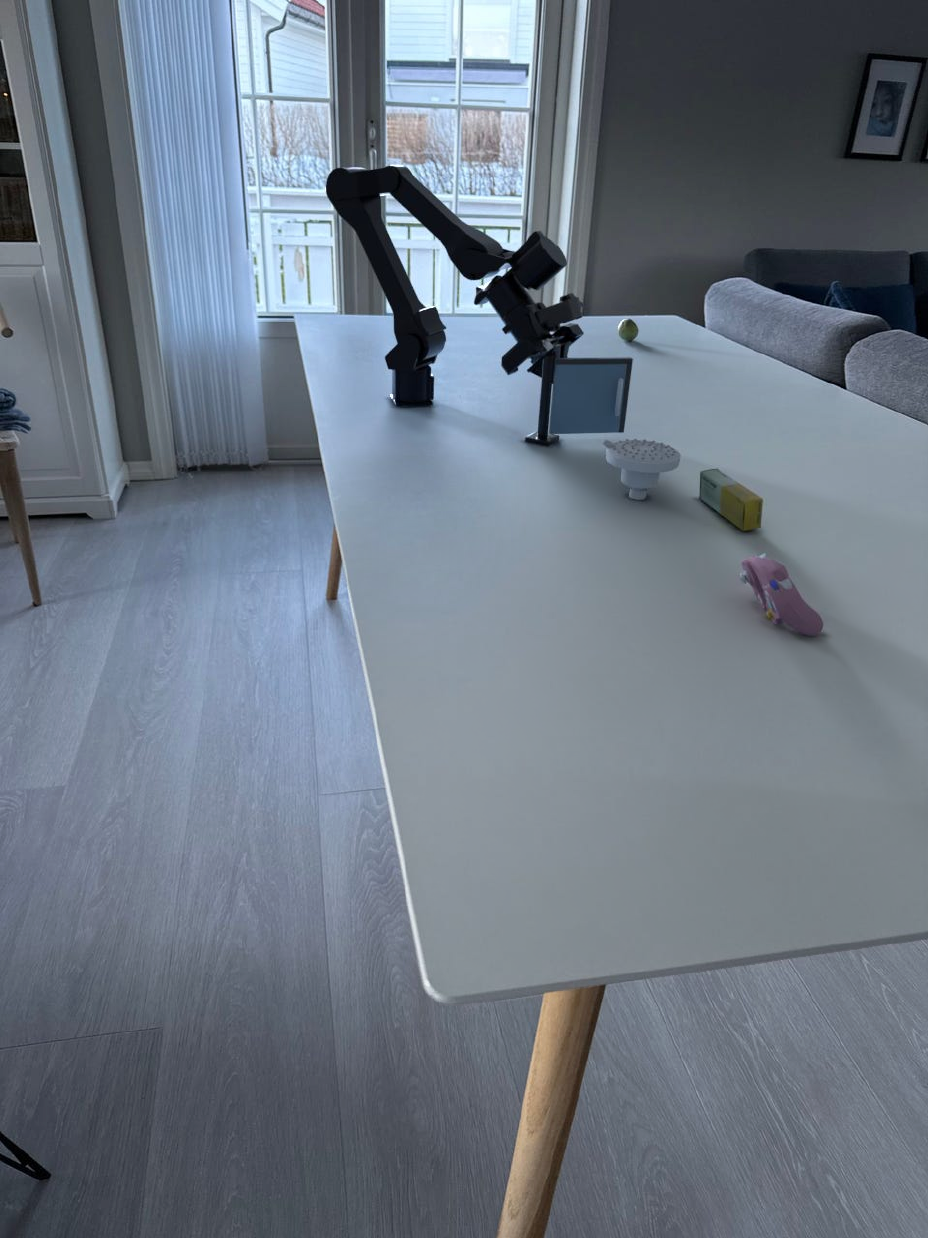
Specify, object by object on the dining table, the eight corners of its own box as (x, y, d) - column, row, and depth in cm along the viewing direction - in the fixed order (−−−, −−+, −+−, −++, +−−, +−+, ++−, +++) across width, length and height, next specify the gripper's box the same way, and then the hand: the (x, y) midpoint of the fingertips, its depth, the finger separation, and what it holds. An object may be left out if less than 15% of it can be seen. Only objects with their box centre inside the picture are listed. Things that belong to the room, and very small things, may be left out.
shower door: (548, 432, 139) (554, 357, 134) (621, 430, 142) (630, 357, 136) (552, 436, 137) (559, 361, 132) (626, 435, 140) (636, 360, 134)
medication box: (697, 499, 119) (698, 470, 117) (716, 496, 120) (718, 467, 118) (741, 532, 109) (744, 500, 107) (762, 528, 109) (765, 497, 107)
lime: (616, 338, 215) (618, 316, 213) (636, 339, 215) (639, 317, 212) (616, 341, 211) (619, 319, 209) (637, 342, 211) (640, 320, 208)
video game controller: (746, 606, 95) (728, 552, 92) (787, 588, 95) (770, 533, 91) (783, 653, 86) (764, 595, 83) (829, 634, 86) (811, 575, 83)
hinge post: (524, 441, 139) (530, 356, 133) (536, 435, 142) (542, 351, 136) (548, 446, 137) (555, 359, 131) (559, 440, 140) (566, 355, 134)
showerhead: (605, 429, 120) (681, 436, 119) (599, 481, 124) (673, 488, 122) (600, 450, 112) (682, 458, 111) (594, 505, 116) (673, 513, 114)
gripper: (525, 282, 129) (587, 372, 130) (578, 270, 143) (634, 351, 144) (475, 330, 136) (534, 416, 137) (530, 314, 151) (583, 391, 151)
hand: (573, 392), depth 142 cm, fingers closed
